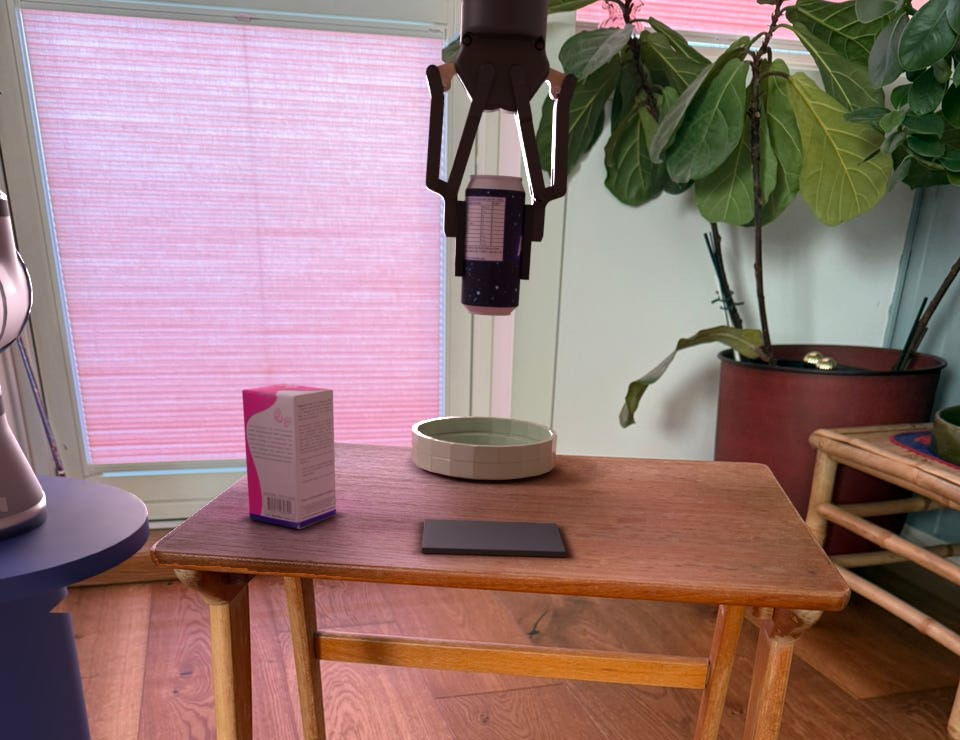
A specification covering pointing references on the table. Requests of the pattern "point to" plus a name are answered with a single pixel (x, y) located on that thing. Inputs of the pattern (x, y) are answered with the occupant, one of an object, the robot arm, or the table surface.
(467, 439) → the bowl
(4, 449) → the robot arm
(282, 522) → the supplement box
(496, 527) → the mat
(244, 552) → the table surface
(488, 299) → the beverage can
